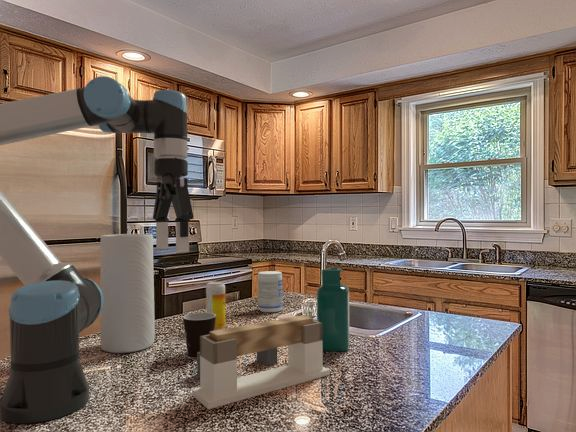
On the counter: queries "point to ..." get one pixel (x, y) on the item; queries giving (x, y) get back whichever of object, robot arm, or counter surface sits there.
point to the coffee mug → (197, 330)
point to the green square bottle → (333, 311)
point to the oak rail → (264, 334)
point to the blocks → (263, 356)
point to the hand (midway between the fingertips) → (171, 250)
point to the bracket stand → (228, 388)
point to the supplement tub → (270, 291)
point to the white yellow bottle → (216, 303)
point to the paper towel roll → (127, 292)
